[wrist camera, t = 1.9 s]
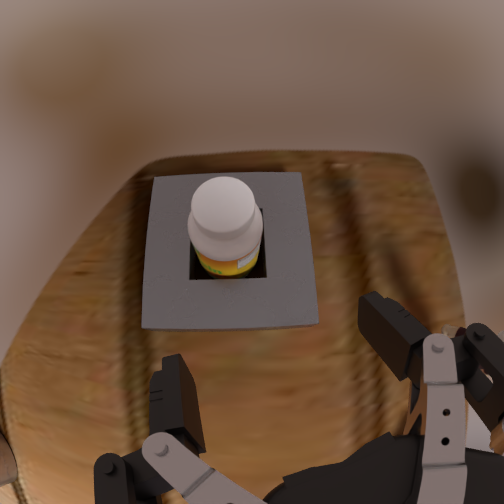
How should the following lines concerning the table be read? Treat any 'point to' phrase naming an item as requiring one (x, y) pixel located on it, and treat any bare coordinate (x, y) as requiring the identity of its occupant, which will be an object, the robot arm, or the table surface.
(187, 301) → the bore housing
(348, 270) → the table surface
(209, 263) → the supplement bottle
